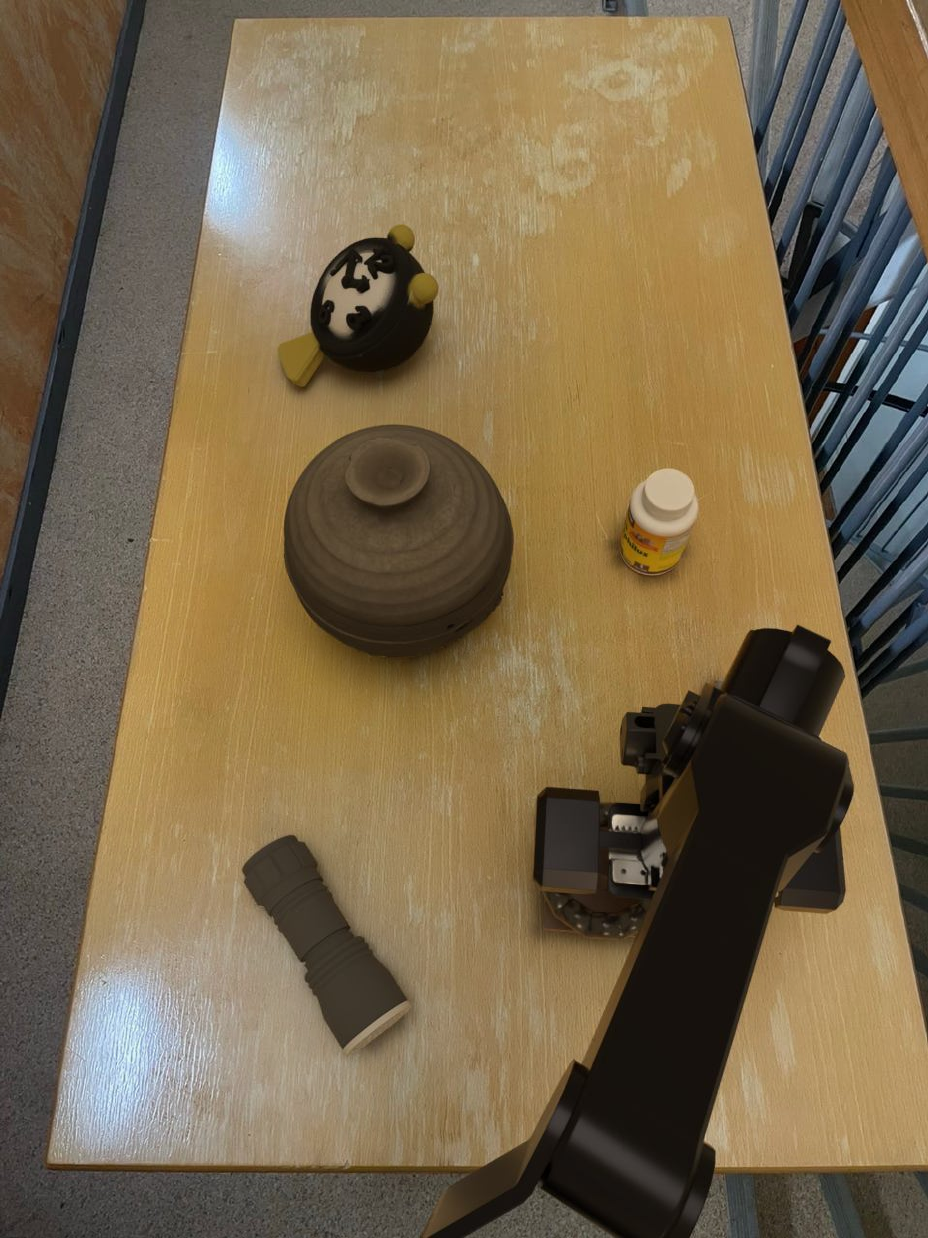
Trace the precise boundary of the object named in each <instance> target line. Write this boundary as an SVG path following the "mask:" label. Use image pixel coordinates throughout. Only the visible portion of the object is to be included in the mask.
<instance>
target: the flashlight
mask: <svg viewBox="0 0 928 1238" xmlns="http://www.w3.org/2000/svg"><path fill="white" fill-rule="evenodd" d="M318 867H319V864H318V861H317V859H316V858H315V856H314V855H313V854H312V852H311V851H310V849H309V848H308V845H307V844H306V843H305V842H304V841H300V840H299V839H298V838H297V836H296V834H295V835H294V834H289V835H284V836H282V837H280V838H277V839H275V840H272V841H271V842H269V843H268V844H266V845H264V846H263V847H261V848H260V849H259V850H258V851H256V852H255V853H254V854H253V855H251V856H250V857H249V859H247V861H246V862H245V863H244V864H243V866H242V869H241V873H242V874H243V876H244V880H243V884H244V885H245V887H246V888H247V891H248V892H249V894H250V896H251V897H252V899H253V900H254V902H255V904H256V905H257V906H258V907H259V906H260V907H263V909H264V911H265V912H266V914H267V915H268V916H269V917H271V918H273V924H274V925H275V926H277V931H278V932H280V933H281V934H282V935H283V937H284V938H285V940H286V941H287V943H288V945H289V946H290V948H291V950H292V951H293V952H294V954H295V956H296V958H297V959H298V961H299V963H304V967H305V970H306V973H305V974H304V982H305V983H307V984H308V985H307V986H308V989H310V990H311V991H312V995H313V996H316V999H317V1001H318V1005H319V1008H320V1011H321V1014H322V1017H323V1020H324V1022H325V1024H326V1025H327V1026H328V1028H329V1030H330V1032H331V1033H332V1035H333V1036H334V1038H335V1040H336V1042H337V1043H338V1045H339V1047H340V1048H341V1050H342V1052H343V1053H344V1055H345V1056H346V1057H349V1056H351V1055H352V1054H354V1053H356V1052H357V1051H359V1050H361V1049H362V1048H364V1047H365V1046H367V1045H368V1044H370V1043H371V1042H372V1041H374V1040H375V1039H376V1038H377V1037H379V1036H380V1035H381V1034H383V1033H384V1032H386V1031H387V1030H388V1029H389V1028H391V1027H392V1026H393V1025H394V1024H396V1022H398V1021H399V1020H400V1019H402V1018H403V1016H405V1015H406V1014H407V1013H408V1012H409V1011H410V1010H411V1008H412V1004H411V1002H410V1001H409V999H408V998H407V996H406V995H405V993H404V992H403V990H402V988H401V987H400V986H399V983H398V982H397V981H396V979H395V978H394V976H393V974H392V973H391V971H390V970H389V969H388V968H387V967H386V966H385V964H383V963H382V962H381V961H379V960H378V958H376V957H375V956H374V952H373V950H372V948H370V944H368V943H367V942H366V939H365V937H364V936H362V935H357V936H355V935H354V933H353V932H352V931H350V929H351V926H350V924H349V922H348V921H347V919H346V917H345V916H344V914H343V913H342V911H341V909H340V908H339V906H338V905H337V904H336V902H335V900H334V899H333V893H332V892H331V891H329V887H328V885H326V884H324V883H323V882H324V878H323V877H322V875H321V874H320V872H319V870H318Z"/></svg>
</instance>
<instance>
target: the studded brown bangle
mask: <svg viewBox="0 0 928 1238" xmlns="http://www.w3.org/2000/svg"><path fill="white" fill-rule="evenodd" d="M614 803H618V802H616V801H613V802H612V801H600V827H608V817H609V809H610V807H611V806H612V805H613V804H614ZM541 893H542V895H543V898H544V897H545V899H546V901H547V903H548V905H549V907H550V909H551V911H552V913H553V914H554V916H555V917H556V918H557V919H558V920H560V921H561V922H563V923H564V924H566V925H567V926H569V927H570V928H572V929H573V930H575V931H576V932H578V933H577V934H579V935H581V936H582V937H584V938H585V939H592V940H593V939H594V940H609V941H610V940H611V941H624V940H627V939H629V938H632V937H631V936H632V935H634V934H636V933H638V931H639V928H640V926H641V923H642V921H643V919H644V916H645V914H646V912H647V909H648V907H649V905H650V902H651V900H649V899H638V901H637V902H636V903H634V904H632V905H630V906H628V907H626V908H624V909H622V910H621V911H619V912H617V913H611V912H594V911H592V910H590V909H589V908H587V907H586V906H584V905H583V904H581V903H580V902H578V901H577V900H575V899H574V898H573V896H572V894H571V893H561V892H549V891H541ZM654 893H655V890H654Z"/></svg>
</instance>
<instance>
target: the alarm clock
mask: <svg viewBox="0 0 928 1238" xmlns="http://www.w3.org/2000/svg"><path fill="white" fill-rule="evenodd" d="M415 243H416V236H415V234H414V231H413V230H412V229H411V228H410V227H409V226H407V225H406V224H404V223H403V224H396V225H394V226H393V227H391V228H390V230H389V231H388V233H387V235H386V237H374V236H373V237H366V238H363V239H360V240H357V241H355V242H352V243H351V244H349V245H348V246H346V247H345V248H343V249H341V251H339V252H338V253H337V254H336V256H334V258H332V259H331V261H330V262H329V263H328V264H327V265H326V267H325V269H324V270H323V272H322V273H321V275H320V277H319V279H318V282H317V284H316V287H315V289H314V292H313V295H312V298H311V304H310V311H309V314H310V315H309V318H310V331H311V332H309V333H307V334H303V335H301V336H298V337H295V338H293V339H290V340H287V341H284V342H282V343H280V344H279V345H278V346H277V354H278V357H279V360H280V362H281V365H282V367H283V371H284V373H285V375H286V377H287V379H288V380H289V381H290V382H291V383H292V384H293V385H295V386H298V387H300V388H304V387H306V386H307V384H308V383H309V382H310V380H311V378H312V377H313V376H314V374H315V372H316V371H317V369H318V367H319V366H320V364H321V363H322V361H323V360H324V358H325V357H327V358H328V359H329V360H330V361H332V362H334V364H337V365H339V366H340V367H342V368H344V369H347V370H350V371H353V372H358V373H369V374H375V373H382V372H385V371H389V370H392V369H394V368H397V367H399V366H401V365H402V364H404V363H405V362H407V361H408V360H409V359H411V358H412V357H413V356H414V355H415V354H416V353H417V352H418V351H419V349H420V348H421V347H422V346H423V344H424V342H425V340H426V339H427V337H428V335H429V332H430V330H431V326H432V324H433V318H434V300H435V299H436V298H437V296H438V294H439V283H438V281H437V279H436V278H435V277H434V276H433V275H432V274H430V273H427V272H425V270H424V268H423V267H422V265H421V263H420V262H419V261H418V259H416V258H415V256H414V255H412V253H411V251H412V250H413V249H414V246H415Z"/></svg>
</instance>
